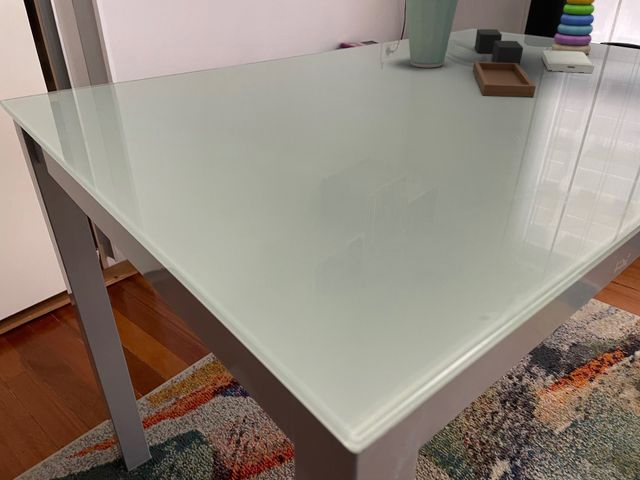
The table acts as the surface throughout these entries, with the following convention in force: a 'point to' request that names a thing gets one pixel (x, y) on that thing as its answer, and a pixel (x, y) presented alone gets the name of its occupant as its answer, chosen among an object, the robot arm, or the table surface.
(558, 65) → the hard drive
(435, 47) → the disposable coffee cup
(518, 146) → the table surface
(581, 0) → the stacking toy
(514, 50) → the black rectangular block
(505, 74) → the tray
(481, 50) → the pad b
